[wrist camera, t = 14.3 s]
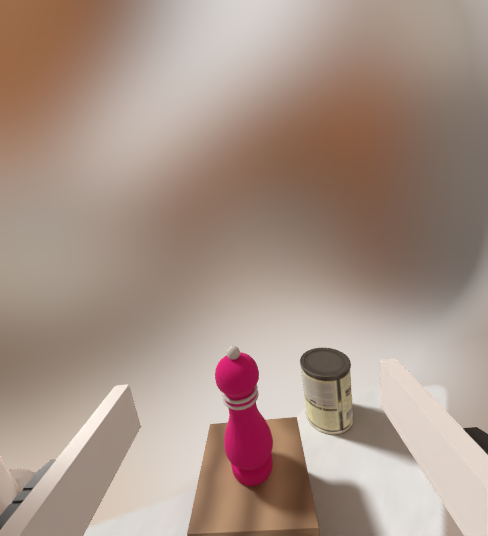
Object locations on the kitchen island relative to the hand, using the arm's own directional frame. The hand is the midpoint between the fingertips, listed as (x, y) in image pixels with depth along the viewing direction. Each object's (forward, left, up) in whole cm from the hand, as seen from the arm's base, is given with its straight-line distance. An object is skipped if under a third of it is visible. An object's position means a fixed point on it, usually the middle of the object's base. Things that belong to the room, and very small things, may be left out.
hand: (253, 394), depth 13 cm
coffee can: (+12, +37, -38) cm, 54 cm away
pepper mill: (-4, +19, -28) cm, 34 cm away
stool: (-4, +19, -38) cm, 43 cm away
